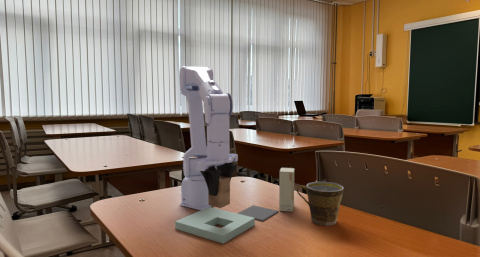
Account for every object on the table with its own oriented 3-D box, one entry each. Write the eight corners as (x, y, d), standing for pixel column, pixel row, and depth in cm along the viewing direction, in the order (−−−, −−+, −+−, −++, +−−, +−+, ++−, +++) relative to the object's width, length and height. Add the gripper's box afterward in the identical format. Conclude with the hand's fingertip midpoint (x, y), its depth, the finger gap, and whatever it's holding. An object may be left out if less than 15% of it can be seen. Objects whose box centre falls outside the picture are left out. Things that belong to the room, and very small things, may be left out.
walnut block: (208, 205, 88) (208, 178, 88) (218, 201, 92) (217, 175, 91) (220, 208, 86) (220, 181, 85) (230, 203, 89) (230, 177, 89)
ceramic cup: (345, 218, 97) (346, 184, 96) (338, 231, 89) (339, 193, 88) (301, 211, 104) (302, 178, 102) (290, 222, 95) (291, 187, 94)
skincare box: (293, 212, 103) (293, 172, 101) (278, 211, 103) (279, 171, 102) (294, 205, 109) (294, 167, 108) (280, 204, 110) (280, 167, 108)
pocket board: (175, 228, 90) (175, 221, 90) (209, 213, 102) (209, 206, 102) (223, 243, 81) (223, 235, 81) (254, 224, 93) (254, 217, 93)
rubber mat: (236, 214, 101) (236, 213, 100) (253, 206, 108) (253, 205, 108) (262, 221, 95) (263, 219, 95) (278, 212, 103) (278, 210, 103)
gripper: (212, 146, 79) (213, 203, 80) (247, 139, 91) (247, 188, 92) (189, 143, 83) (190, 198, 84) (225, 137, 95) (226, 184, 96)
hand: (218, 192), depth 89 cm, fingers closed on walnut block, 4 cm apart
